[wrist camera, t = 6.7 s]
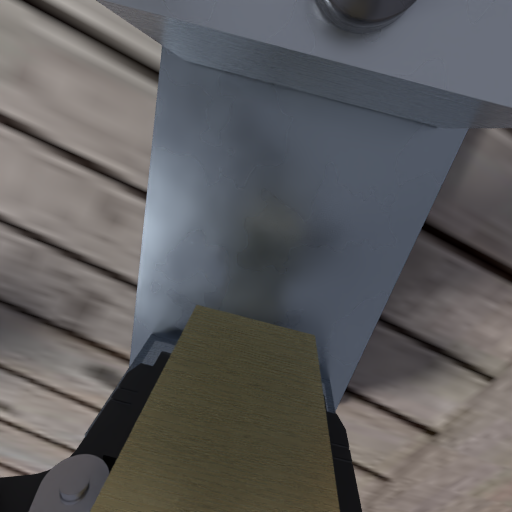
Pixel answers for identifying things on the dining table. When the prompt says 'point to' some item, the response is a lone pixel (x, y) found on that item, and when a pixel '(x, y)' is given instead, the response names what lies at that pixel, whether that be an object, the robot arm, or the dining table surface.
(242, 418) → the block
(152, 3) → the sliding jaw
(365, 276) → the vise
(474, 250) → the dining table surface
